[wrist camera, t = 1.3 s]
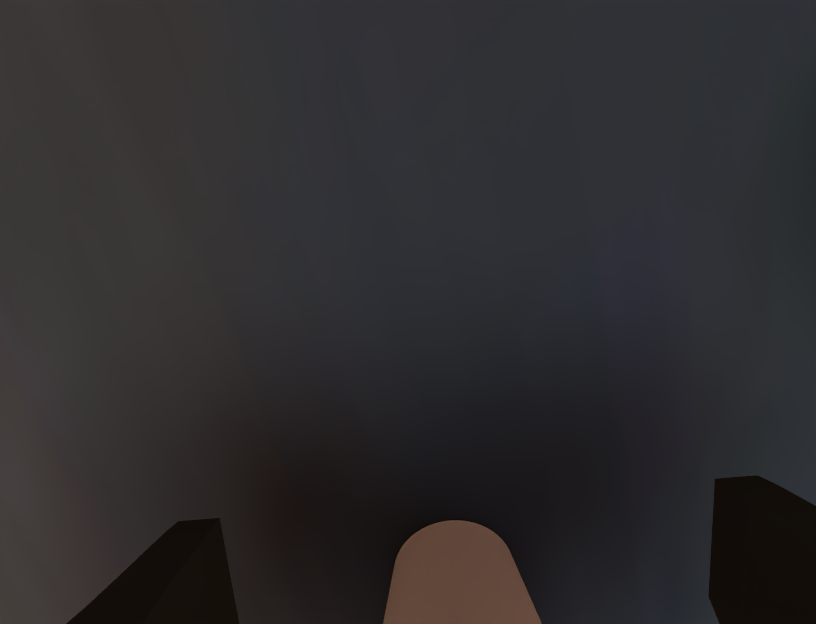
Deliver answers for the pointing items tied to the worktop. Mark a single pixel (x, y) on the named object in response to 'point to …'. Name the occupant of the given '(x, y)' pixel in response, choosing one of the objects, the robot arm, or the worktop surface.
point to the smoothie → (457, 579)
